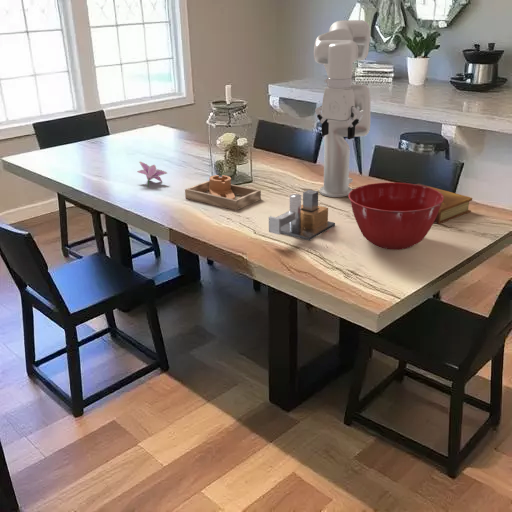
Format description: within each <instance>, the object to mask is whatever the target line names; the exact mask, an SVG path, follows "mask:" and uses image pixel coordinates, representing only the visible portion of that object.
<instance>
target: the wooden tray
mask: <svg viewBox="0 0 512 512" xmlns="http://www.w3.org/2000/svg"><path fill="white" fill-rule="evenodd" d="M231 190H232V192H233V193H234V195H235V196H241V197H239V198H235V200H234V199H229V198H225V197H221V196H216V195H212V194H209V193H207V192H209V180H206V181H203V182H202V183H198V184H196V185H194V186H190V187H188V188H185V189H184V195H185V199H188V200H192V201H196V202H200V203H204V204H208V205H213V206H217V207H221V208H226V209H229V210H233V211H237V210H240V209H243V208H244V207H246V206H249V205H252V204H253V203H255V202H258V201H260V200H262V197H261V196H262V192H261V190H260V189H256V188H250V187H247V186H241V185H238V184H237V185H236V184H232V183H231Z"/></svg>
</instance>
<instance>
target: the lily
mask: <svg viewBox="0 0 512 512" xmlns="http://www.w3.org/2000/svg"><path fill="white" fill-rule="evenodd" d="M138 163H139V164H140V165H141V168H142V169H140V170H137V171H136V173H138V174H142V175H145V177H146V179H147V187H148V188H149V185H150V181H151V180H153V179H155V180H157V181H159V182H161V183H162V182H163V179H162V178H161V177H160V176H163V175H166V174H168V172H167V171H164V170H162V169H157V166H156V165H155V164H152V165H148V164H147V163H145V162H142V161H138Z"/></svg>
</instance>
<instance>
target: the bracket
mask: <svg viewBox="0 0 512 512" xmlns="http://www.w3.org/2000/svg"><path fill="white" fill-rule="evenodd" d="M208 181H209V190H208V192H209V193H208V194H212V195H216V196H221V197H225V198H229V199H234V200H236V195H235V194H234V193H233V192H232V190H231V184H232V178H231V177H230V176H228V175H223V174H222V175H221V176H220V174H217V175H211V176H209V180H208Z"/></svg>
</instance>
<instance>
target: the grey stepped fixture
mask: <svg viewBox="0 0 512 512" xmlns="http://www.w3.org/2000/svg"><path fill="white" fill-rule="evenodd" d="M328 218H329V208H328V207H326V206H322V205H318V210H316V211H314V212H312V213H311V212H307V211H303V204H302V195H301V194H297V193H292V194H289V210H287V211H286V212H284V213H282V214H280V215H278V216H272V215H270V216H268V232H269V233H271V234H275V235H277V236H278V235H281V234H282V235H285V236H290V237H293V238H297V239H301V240H304V241H309V242H310V241H311V240H313V239H314V238H316V237H318V236H320V235H321V234H323V233H324V232H327V231H328V230H330V229H332V228H334V227H335V226H336V223H335V222H333V221H329V219H328Z"/></svg>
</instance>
